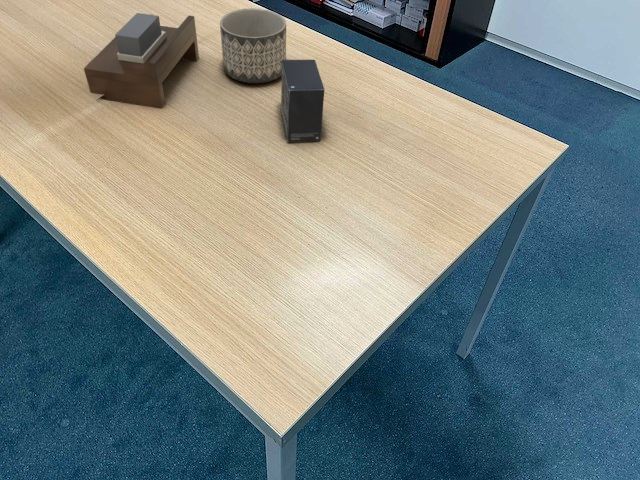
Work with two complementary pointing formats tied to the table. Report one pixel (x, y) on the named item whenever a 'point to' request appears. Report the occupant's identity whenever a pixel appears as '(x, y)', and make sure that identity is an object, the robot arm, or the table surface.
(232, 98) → the table surface
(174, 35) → the shelf
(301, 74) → the small box
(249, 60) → the planter
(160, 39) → the grey block on plinth
